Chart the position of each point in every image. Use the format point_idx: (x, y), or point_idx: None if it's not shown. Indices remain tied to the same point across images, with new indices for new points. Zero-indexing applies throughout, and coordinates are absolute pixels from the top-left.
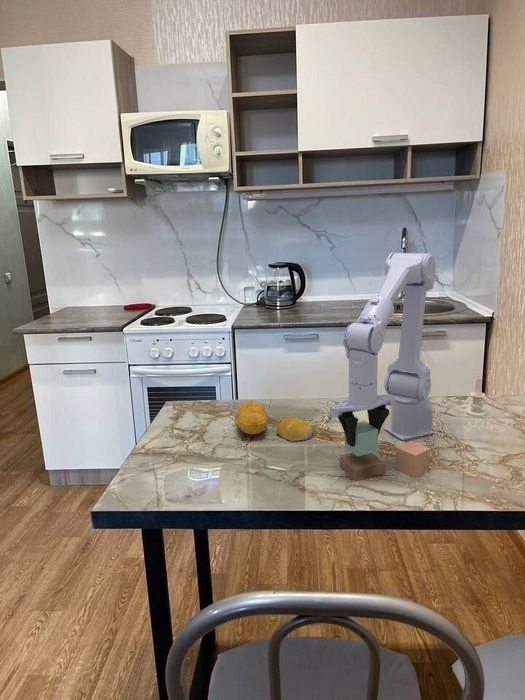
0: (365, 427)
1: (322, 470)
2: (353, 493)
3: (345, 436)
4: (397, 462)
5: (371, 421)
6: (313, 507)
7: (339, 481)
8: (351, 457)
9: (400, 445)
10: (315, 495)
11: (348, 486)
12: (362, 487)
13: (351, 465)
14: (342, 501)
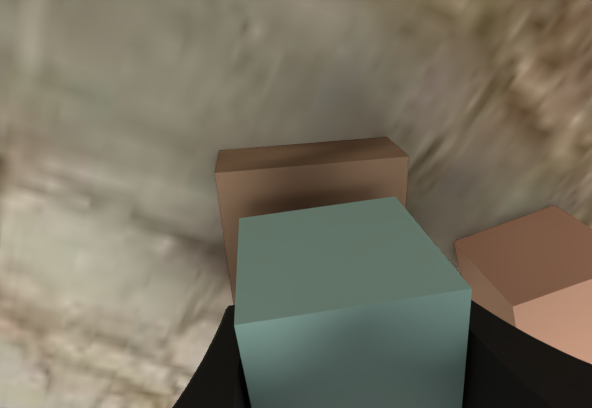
0: (392, 401)
1: (114, 163)
2: (195, 360)
3: (214, 337)
4: (471, 267)
5: (489, 392)
6: (16, 403)
7: (169, 276)
8: None
9: (549, 294)
10: (36, 343)
11: (194, 317)
12: None
13: (233, 292)
14: (136, 392)
